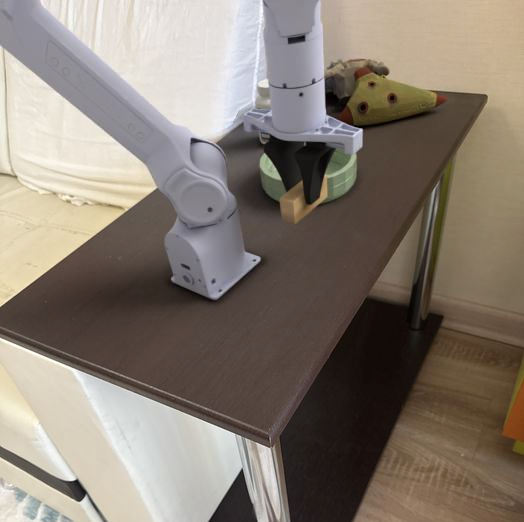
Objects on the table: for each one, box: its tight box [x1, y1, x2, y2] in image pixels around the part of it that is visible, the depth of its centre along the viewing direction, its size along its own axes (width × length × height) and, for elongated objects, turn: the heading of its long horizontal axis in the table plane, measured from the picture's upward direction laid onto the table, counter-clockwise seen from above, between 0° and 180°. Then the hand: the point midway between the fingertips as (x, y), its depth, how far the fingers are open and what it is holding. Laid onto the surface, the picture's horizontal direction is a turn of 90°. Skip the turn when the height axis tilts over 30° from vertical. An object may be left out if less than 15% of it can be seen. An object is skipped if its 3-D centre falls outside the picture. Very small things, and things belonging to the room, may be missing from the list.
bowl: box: [259, 141, 358, 205], centre depth 81 cm, size 15×15×4 cm
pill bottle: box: [254, 78, 271, 145], centre depth 90 cm, size 5×5×10 cm
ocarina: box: [337, 67, 448, 126], centre depth 92 cm, size 20×5×10 cm
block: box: [279, 174, 327, 225], centre depth 63 cm, size 7×2×3 cm, turn 142°
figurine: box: [324, 58, 391, 110], centre depth 101 cm, size 10×14×15 cm
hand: (304, 198), depth 63 cm, fingers closed on block, 2 cm apart
